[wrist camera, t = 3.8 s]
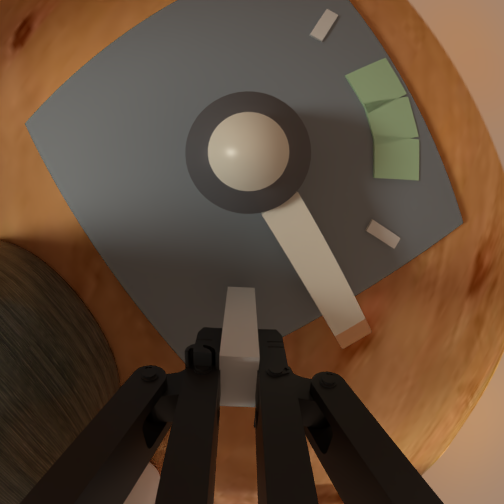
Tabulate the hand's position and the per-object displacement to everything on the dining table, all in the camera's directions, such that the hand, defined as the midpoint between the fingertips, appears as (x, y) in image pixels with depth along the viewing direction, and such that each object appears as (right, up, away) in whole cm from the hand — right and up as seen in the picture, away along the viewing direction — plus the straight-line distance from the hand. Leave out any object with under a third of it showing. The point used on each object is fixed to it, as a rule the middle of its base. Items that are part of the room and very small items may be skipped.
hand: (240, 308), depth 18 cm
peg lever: (+3, +5, 0) cm, 6 cm away
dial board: (0, +9, 0) cm, 9 cm away
